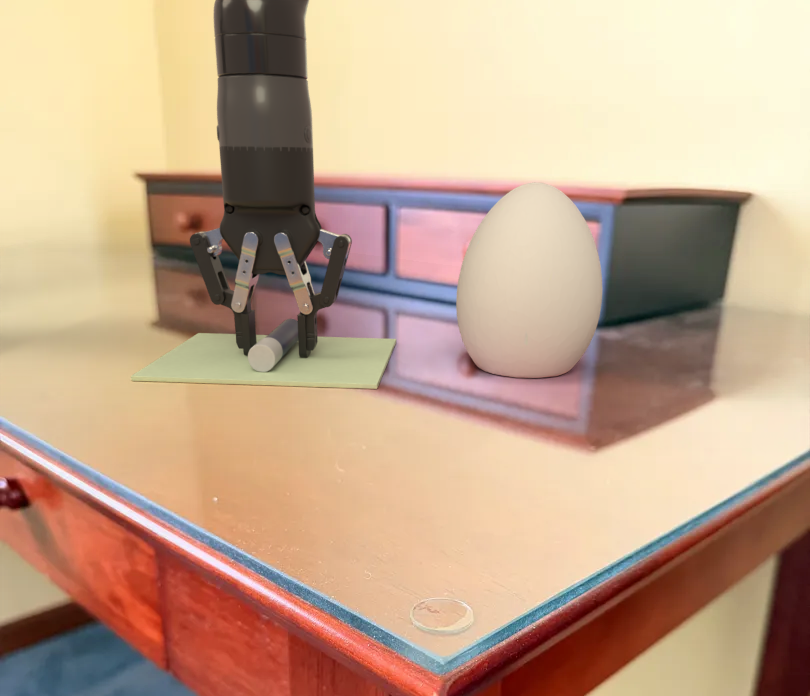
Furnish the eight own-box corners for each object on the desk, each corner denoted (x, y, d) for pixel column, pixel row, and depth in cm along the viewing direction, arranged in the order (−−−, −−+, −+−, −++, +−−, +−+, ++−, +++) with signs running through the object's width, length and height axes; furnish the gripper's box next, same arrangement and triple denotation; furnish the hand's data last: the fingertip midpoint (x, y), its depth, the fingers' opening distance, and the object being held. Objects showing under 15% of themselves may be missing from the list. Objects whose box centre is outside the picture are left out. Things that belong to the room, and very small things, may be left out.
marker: (283, 343, 79) (277, 319, 78) (305, 339, 79) (300, 315, 78) (251, 374, 68) (244, 347, 67) (278, 369, 68) (271, 342, 67)
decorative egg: (583, 354, 78) (602, 181, 71) (603, 387, 66) (627, 186, 60) (454, 351, 78) (461, 179, 72) (453, 382, 67) (461, 183, 61)
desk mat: (131, 380, 66) (130, 376, 66) (198, 336, 82) (198, 332, 82) (377, 389, 65) (377, 384, 65) (396, 342, 81) (396, 338, 81)
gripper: (359, 144, 69) (361, 348, 76) (194, 142, 70) (211, 343, 77) (347, 143, 62) (350, 366, 70) (164, 140, 63) (186, 361, 71)
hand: (277, 353), depth 73 cm, fingers open, 4 cm apart
